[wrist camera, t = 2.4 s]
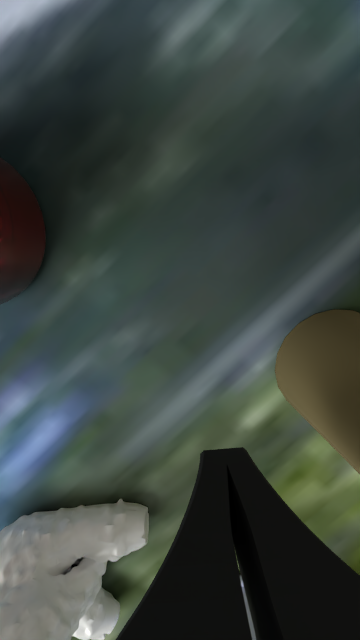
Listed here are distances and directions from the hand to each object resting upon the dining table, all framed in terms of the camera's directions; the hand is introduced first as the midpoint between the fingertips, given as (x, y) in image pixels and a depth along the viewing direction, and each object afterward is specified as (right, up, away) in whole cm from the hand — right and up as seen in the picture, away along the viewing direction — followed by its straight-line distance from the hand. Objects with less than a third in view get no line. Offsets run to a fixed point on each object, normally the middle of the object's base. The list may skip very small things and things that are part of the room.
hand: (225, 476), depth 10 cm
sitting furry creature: (-8, -9, +10) cm, 16 cm away
